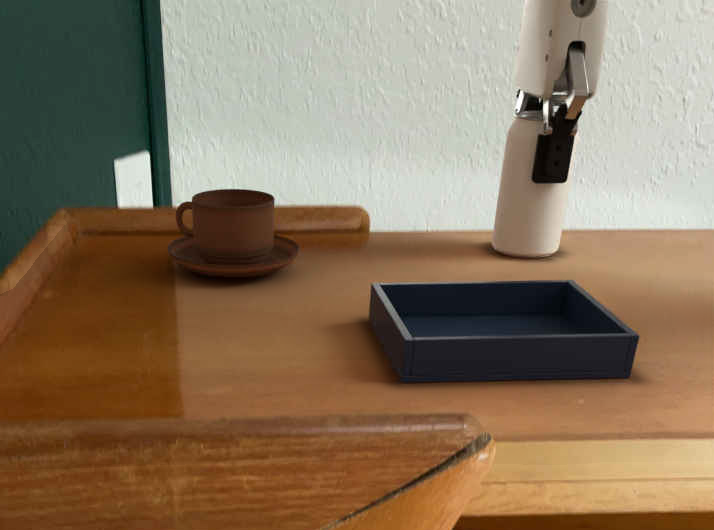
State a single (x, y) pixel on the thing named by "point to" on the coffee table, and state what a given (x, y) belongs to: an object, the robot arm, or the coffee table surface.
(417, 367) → the tray
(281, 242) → the cup and saucer
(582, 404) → the coffee table surface
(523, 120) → the can
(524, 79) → the robot arm
